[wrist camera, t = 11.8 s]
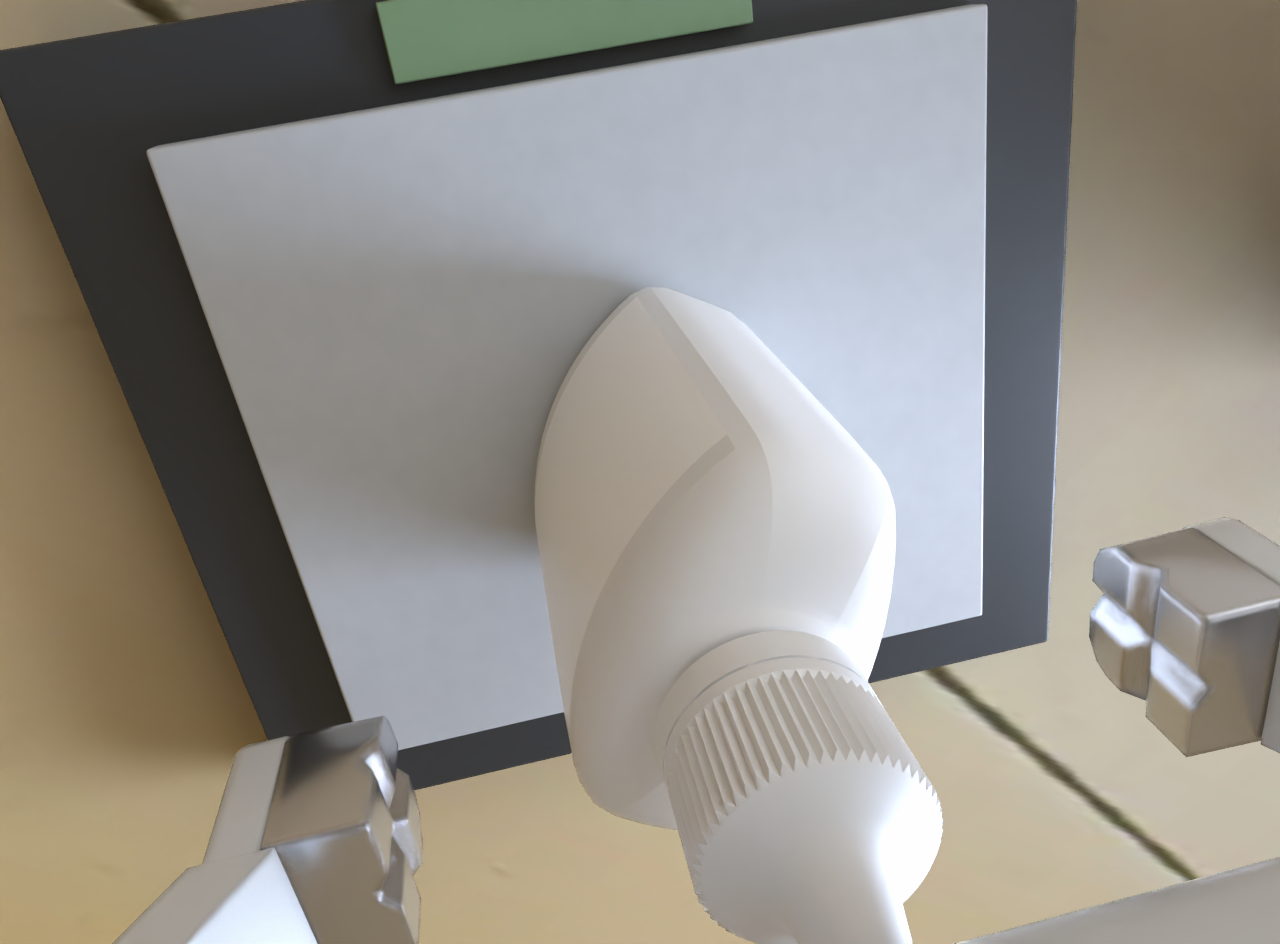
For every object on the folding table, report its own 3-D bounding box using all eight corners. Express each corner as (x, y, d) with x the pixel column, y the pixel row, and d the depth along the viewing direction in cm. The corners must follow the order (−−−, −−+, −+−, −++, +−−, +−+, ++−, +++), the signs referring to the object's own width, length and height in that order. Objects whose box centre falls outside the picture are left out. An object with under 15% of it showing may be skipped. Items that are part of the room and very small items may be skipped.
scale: (31, 50, 16) (-39, 54, 14) (1022, -112, 18) (1106, -133, 16) (311, 758, 23) (294, 839, 21) (1006, 598, 25) (1062, 656, 23)
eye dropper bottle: (445, 442, 18) (422, 1072, 7) (681, 244, 17) (1059, 614, 6) (594, 587, 20) (756, 1261, 9) (813, 414, 19) (1281, 926, 8)
